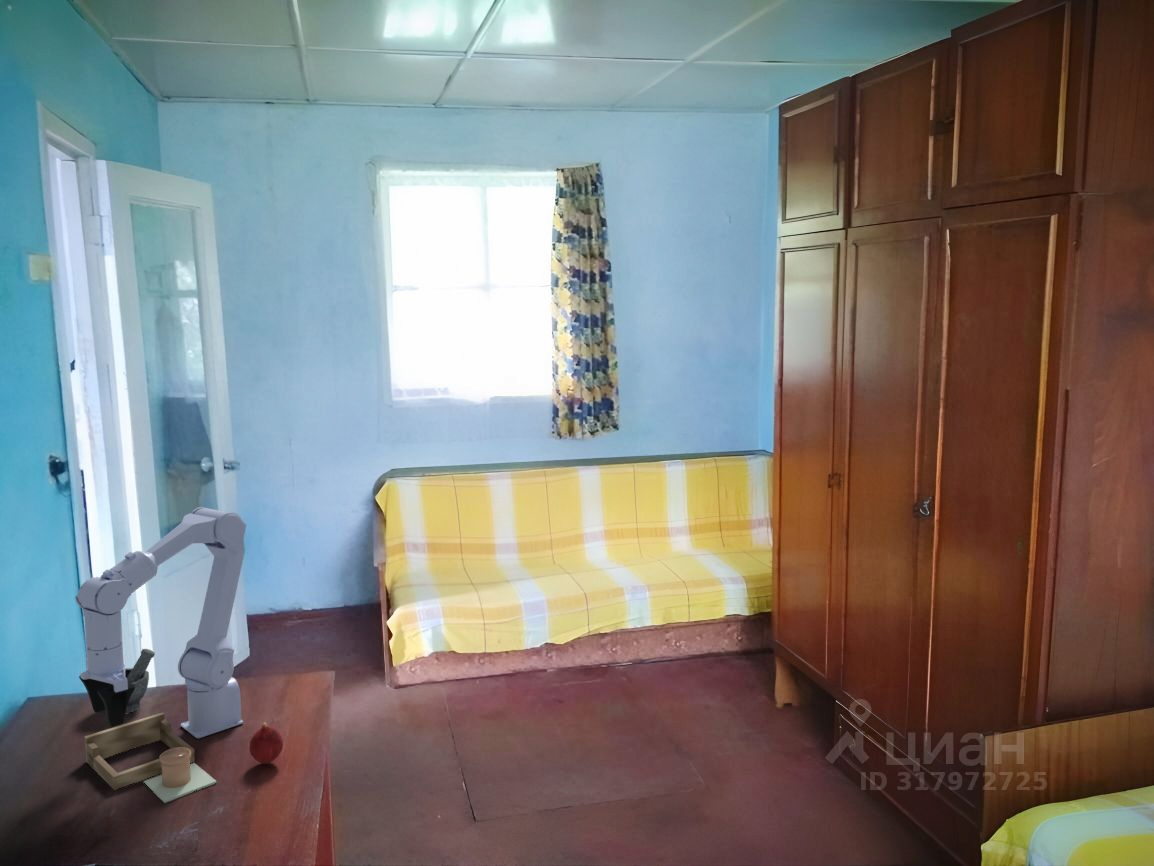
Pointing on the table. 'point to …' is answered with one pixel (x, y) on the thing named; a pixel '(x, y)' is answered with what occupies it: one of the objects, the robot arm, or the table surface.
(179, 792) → the mat
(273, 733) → the onion
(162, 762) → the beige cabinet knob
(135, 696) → the mortar and pestle
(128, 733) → the wooden frame
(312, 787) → the table surface
